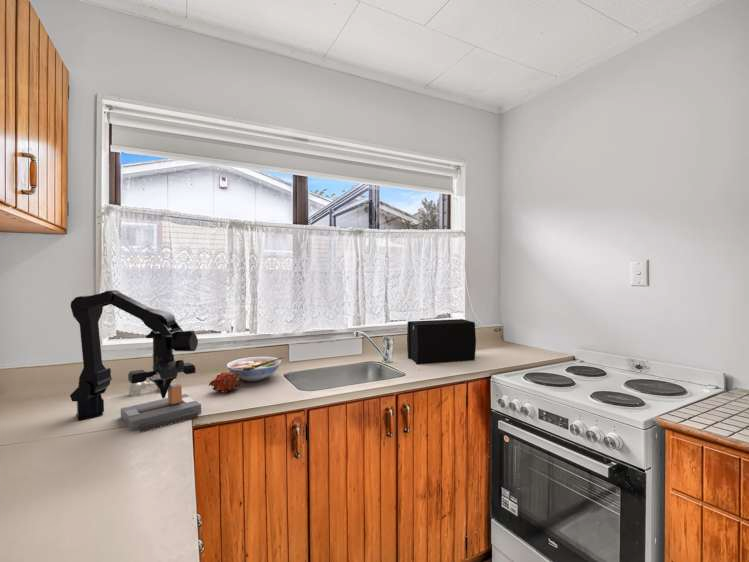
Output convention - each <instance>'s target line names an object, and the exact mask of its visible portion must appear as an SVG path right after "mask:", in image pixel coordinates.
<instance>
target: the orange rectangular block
mask: <svg viewBox="0 0 749 562" xmlns="http://www.w3.org/2000/svg"><path fill="white" fill-rule="evenodd" d="M182 386H183V385H181V384H180V383H178V382H173V383H172V382H171V383H170V385H169V388H168V390H167V398H168V401H169V402H170V403H171V404H175V403H180V402H182V395H183V393H182V392H183V391H182Z"/></svg>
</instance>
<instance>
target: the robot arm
mask: <svg viewBox="0 0 749 562" xmlns="http://www.w3.org/2000/svg"><path fill="white" fill-rule="evenodd" d="M109 305H111V306H113V307H116V308H117V309H120V310H121V311H124V313H127V314H129V315H131V316H134V317H135V318H136V319H139V320H141V321H142V323H143V324H144V325H145V326H146V327H147V328H148V329H150V330H151V331H150V333H148V334H147V335H146V336H145V338H146V339H152V370H149V371H146V370H144V369H138V370H131V371H129V373H128V374H127V376H128V377H127V379H128V382H129V381H130V382H131V383H140V382H144V381H146V380H147V379H148V378H149V381H150V382H155V384H156V388H157V389H158V392H159V393H160V394H159V395H160V396H161V399H166V395H167V394H168V388H169V385H170V384H172V382H173V381H174V380H175V379H177V378H178V373H184V375H192V374H195V373H196V369H197V368H196V365H195V364H193V363H191V362H185V361H184V360H183V359H178V360H175V357H174V356H175V354H174V351H175V352H195V351H196V349H197V348H198V345H199V344H198V343H199V339H198V337H197V335H196V334H195V330H192V329H191V330H183V329H182V327H181V326H180V325H179V323H178V322H177V321H176V318H175V315H174V314H173V313H171V312H168V311H165V310H162V309H156V308H151V307H149V306H148V305H146V304H143V303H142V302H140V301H137V300H135V299H134V298H132V297H129V296H128V295H125V294H123V293H122V292H121V291H119V290H117V289H116V290H115V289H113V290H105V291H104V292H101V293H97V294H92V295H84V296H83V295H80V296H76V297H74V298H73V300H72V301H70V309H71V314H72V316H73V317H74V319H75V320H76V321H77V322H78V324H79V325H78V326H79V332H80V333H79V334H80V341H81V342H80V343H81V344H80V345H81V354H82V355H81V356H82V363H83V368H82V370H81V372H80V375H79V378H78V386H77V388H76V389H75V390H73V392H71V394H70V395H69V396H70V400H71V402H76V413H75V416H76V418H77V420H78V421H82V420H86V419H92V418H96V417H100V416H103V415H104V412H105V405H104V404H105V403H104V402H105V401H104V398H103V397H102V395H103V394H104V393H106V390H107V388H108V387H109V386H110V385H111V381H112V380H113V378H112V375H111V374H112V372H111V371H112V370H111V368H110V367H108V368H106V367H105V366H104V364H103V360H102V349H101V338H100V335H101V334H100V326H99V321H100V318H101V317H102V315H103V310H104V309H103V308H105V307H107V306H109Z"/></svg>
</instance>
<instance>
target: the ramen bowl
mask: <svg viewBox="0 0 749 562" xmlns="http://www.w3.org/2000/svg"><path fill="white" fill-rule="evenodd" d="M284 358H285V356H283V357H279V358H277V357H273V356H251V357H243V358H239V359H235V360H233V361H232V360H231V361H229V362H228V363H227V364H226V367H227V368H228V370H229V371H231V372H233V373H234V374H235V373H236V374H238V376H240V378H241V380H243V381H246V382H251V381H252V382H260V381H262V380H264V379H266V378H268V377H269V376H272V375H273V374H274V373H275V372H276V371H277V370H278V368H279V366H280V363H281V362H282V360H281V359H284Z"/></svg>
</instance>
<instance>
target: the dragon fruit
mask: <svg viewBox="0 0 749 562" xmlns="http://www.w3.org/2000/svg"><path fill="white" fill-rule="evenodd" d="M241 382H242V379H241V378H240V376H238V374H236V373H235V374H234V373H233V372H231V371H230V370H229V371H228V372H225V371H222V372H221V373H220V374H217V375H216V377H215V378H214V379H213V380H211V381H210V382H209V384H208V386H211V387H212V390H213V391H215V392H220V391H223V393H224V394H226V393H228V392H230V391H231V392H233V391H234V389H236V388H239V387H240V386H241Z"/></svg>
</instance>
